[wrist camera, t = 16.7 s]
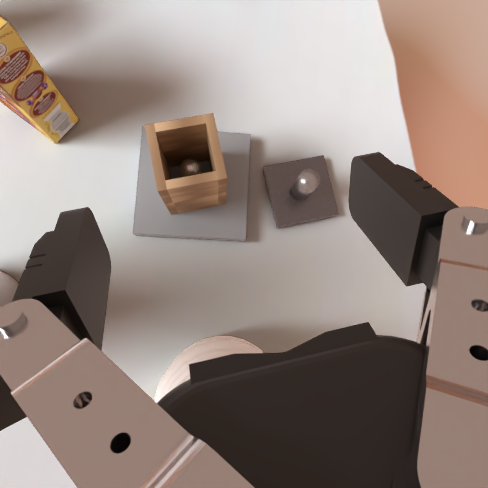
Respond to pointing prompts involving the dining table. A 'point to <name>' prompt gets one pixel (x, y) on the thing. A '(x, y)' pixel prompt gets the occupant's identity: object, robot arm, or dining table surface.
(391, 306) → the dining table surface
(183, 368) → the honey pot
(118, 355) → the dining table surface
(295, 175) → the grey-brown square knobbed lid
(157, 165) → the oak collar
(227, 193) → the hub plate
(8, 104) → the candy box
